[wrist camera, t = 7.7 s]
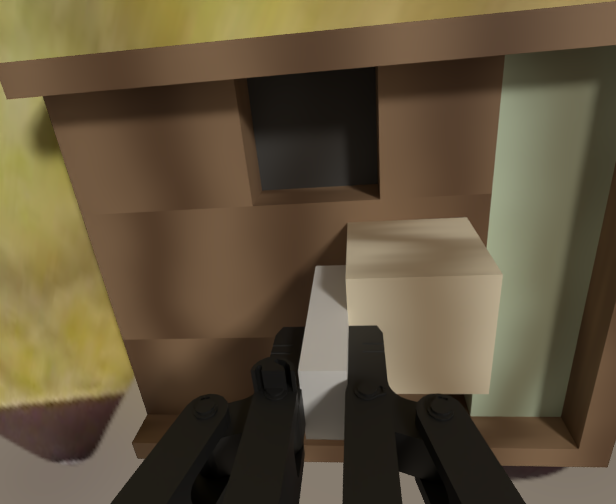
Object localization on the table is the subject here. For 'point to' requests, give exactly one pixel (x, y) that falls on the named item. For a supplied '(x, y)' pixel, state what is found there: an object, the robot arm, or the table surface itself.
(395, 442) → the robot arm
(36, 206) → the table surface
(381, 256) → the maple cube
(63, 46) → the table surface
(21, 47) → the table surface
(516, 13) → the box
